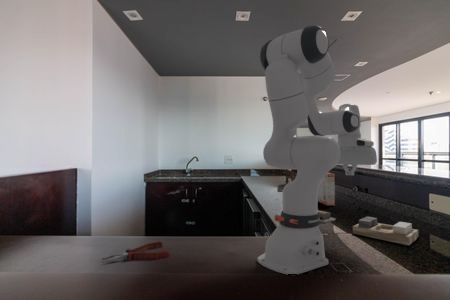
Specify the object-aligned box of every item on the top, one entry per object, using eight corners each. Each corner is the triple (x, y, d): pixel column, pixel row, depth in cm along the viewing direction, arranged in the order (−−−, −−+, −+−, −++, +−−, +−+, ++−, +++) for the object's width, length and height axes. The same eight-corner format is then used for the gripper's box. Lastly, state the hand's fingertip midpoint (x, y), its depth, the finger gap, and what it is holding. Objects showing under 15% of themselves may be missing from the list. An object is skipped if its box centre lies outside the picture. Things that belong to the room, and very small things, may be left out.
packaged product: (293, 208, 137) (304, 206, 143) (294, 217, 137) (304, 214, 143) (325, 214, 123) (335, 211, 129) (325, 224, 123) (335, 220, 129)
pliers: (100, 258, 84) (100, 250, 85) (161, 247, 94) (161, 240, 94) (103, 272, 74) (103, 263, 74) (170, 258, 84) (170, 250, 84)
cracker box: (335, 205, 165) (335, 173, 166) (326, 205, 165) (325, 173, 166) (326, 201, 179) (326, 171, 180) (318, 201, 179) (317, 172, 180)
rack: (409, 245, 92) (408, 230, 92) (352, 233, 107) (352, 220, 107) (418, 237, 101) (418, 223, 101) (365, 227, 116) (365, 215, 116)
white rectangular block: (405, 238, 95) (405, 227, 95) (393, 236, 98) (392, 225, 98) (411, 233, 101) (411, 223, 101) (399, 231, 104) (399, 221, 104)
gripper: (322, 143, 115) (323, 174, 115) (372, 141, 100) (372, 177, 99) (329, 143, 119) (329, 173, 119) (378, 141, 104) (378, 176, 104)
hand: (349, 175), depth 109 cm, fingers closed
